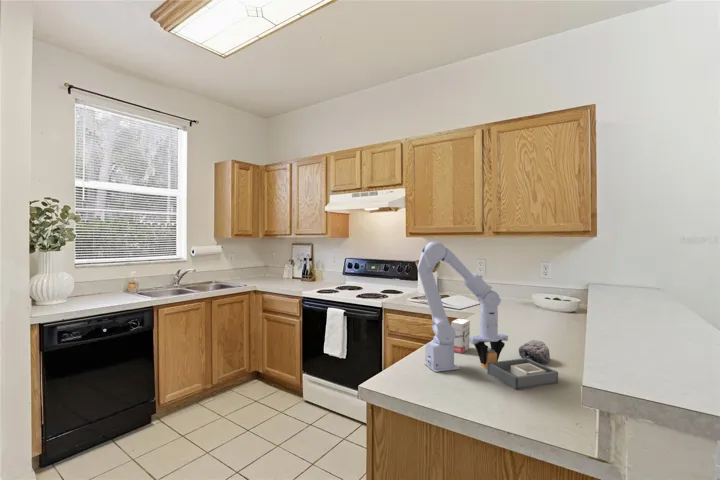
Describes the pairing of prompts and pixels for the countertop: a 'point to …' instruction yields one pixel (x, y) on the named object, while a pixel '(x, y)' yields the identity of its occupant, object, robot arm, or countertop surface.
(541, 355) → the pumice stone
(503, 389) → the countertop surface
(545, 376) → the walled box
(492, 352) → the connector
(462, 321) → the ink box
